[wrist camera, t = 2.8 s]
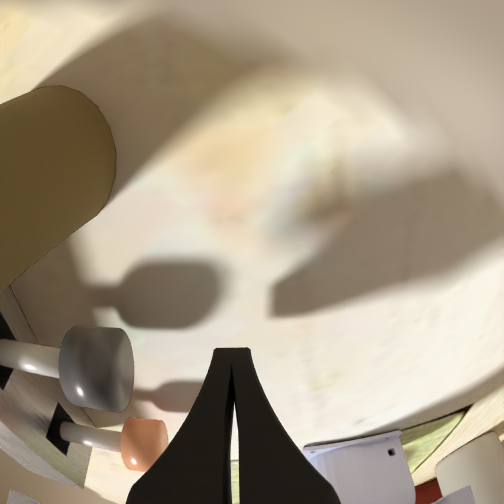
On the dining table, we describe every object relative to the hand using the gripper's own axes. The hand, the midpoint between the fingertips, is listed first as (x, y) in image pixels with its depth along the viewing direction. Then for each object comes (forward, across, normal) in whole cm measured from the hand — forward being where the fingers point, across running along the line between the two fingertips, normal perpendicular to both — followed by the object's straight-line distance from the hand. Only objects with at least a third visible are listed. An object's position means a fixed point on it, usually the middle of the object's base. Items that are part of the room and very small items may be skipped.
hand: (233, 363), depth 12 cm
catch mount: (+2, +14, +4) cm, 15 cm away
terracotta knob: (+1, +8, +8) cm, 12 cm away
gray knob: (+1, +8, 0) cm, 8 cm away
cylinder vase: (+3, -37, +36) cm, 52 cm away
